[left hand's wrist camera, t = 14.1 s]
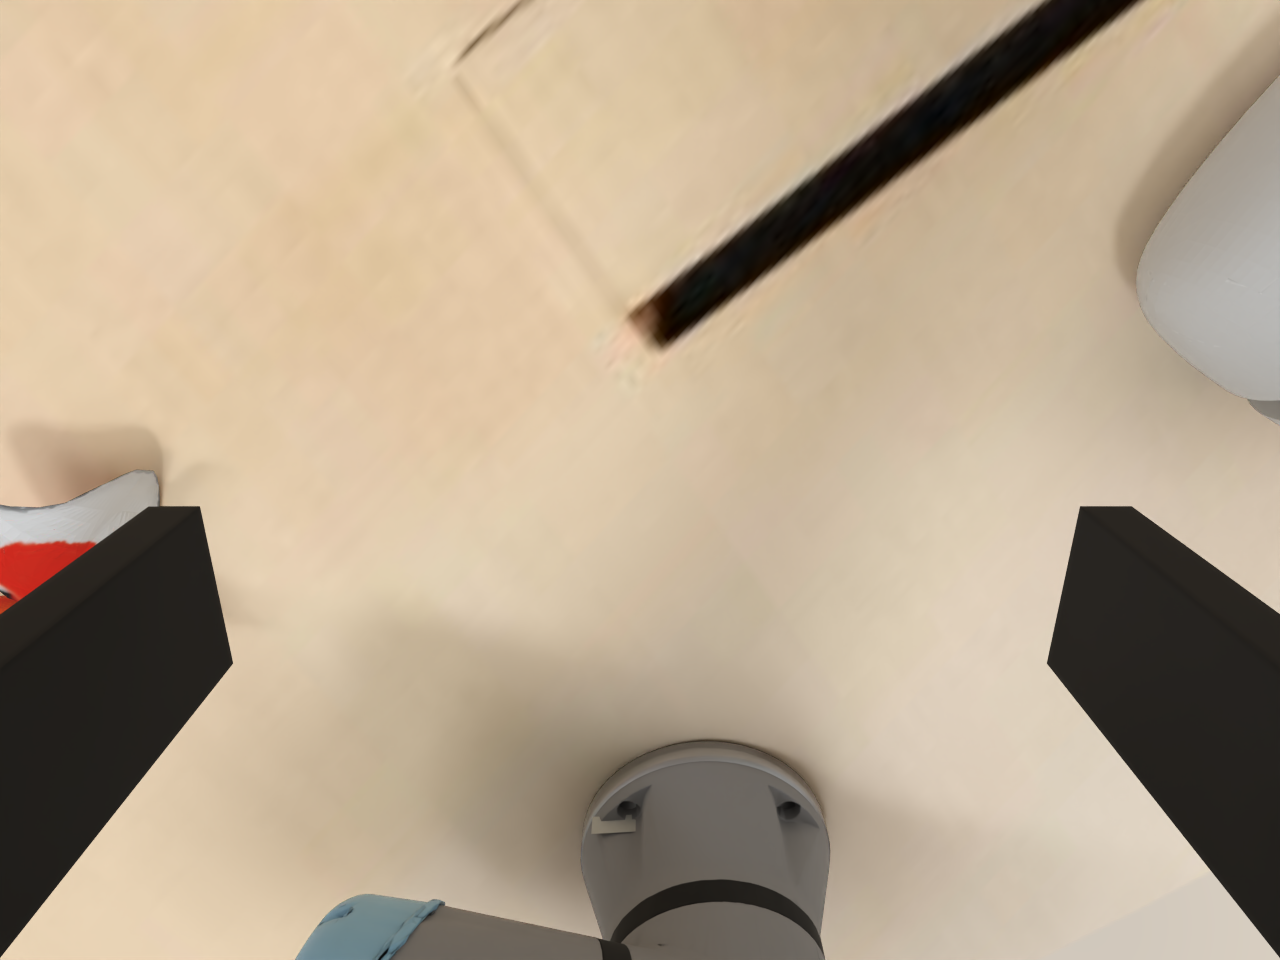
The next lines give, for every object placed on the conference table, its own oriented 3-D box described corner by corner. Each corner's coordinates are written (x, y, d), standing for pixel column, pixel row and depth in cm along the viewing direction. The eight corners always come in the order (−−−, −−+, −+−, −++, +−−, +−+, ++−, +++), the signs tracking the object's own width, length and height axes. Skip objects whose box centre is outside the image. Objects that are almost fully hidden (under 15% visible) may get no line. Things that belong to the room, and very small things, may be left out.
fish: (-200, 571, 41) (-260, 690, 33) (92, 383, 44) (98, 452, 36) (-10, 689, 47) (-24, 812, 40) (230, 518, 51) (260, 601, 43)
